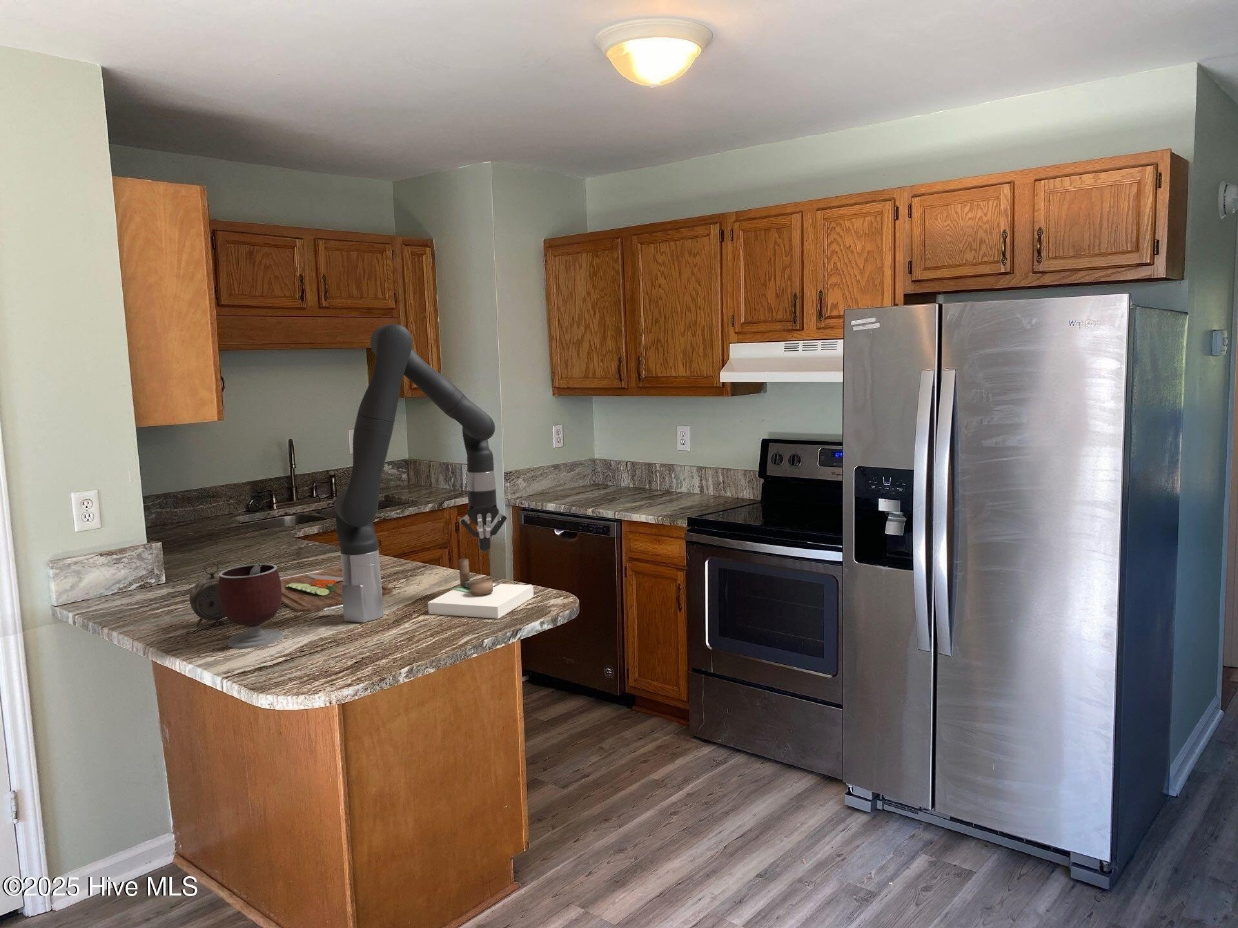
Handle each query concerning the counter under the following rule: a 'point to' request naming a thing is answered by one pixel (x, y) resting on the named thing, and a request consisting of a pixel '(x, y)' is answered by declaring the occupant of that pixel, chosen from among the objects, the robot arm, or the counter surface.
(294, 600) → the chopping board
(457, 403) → the robot arm
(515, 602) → the white square slab
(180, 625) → the counter surface
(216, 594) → the alarm clock
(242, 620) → the mate gourd
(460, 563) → the crank handle
